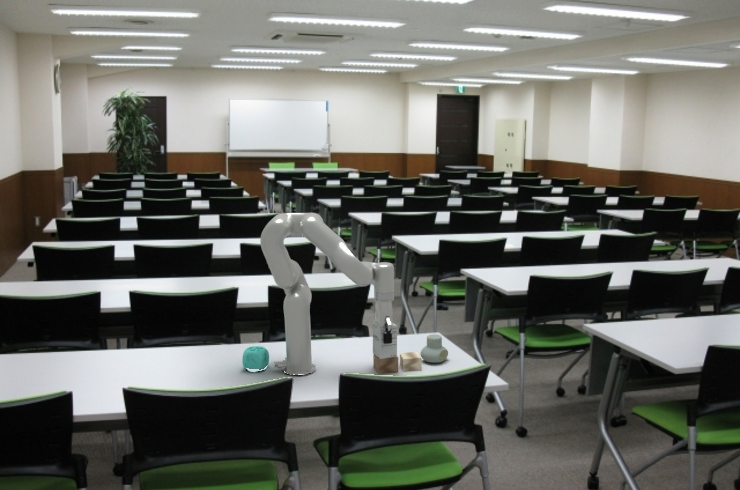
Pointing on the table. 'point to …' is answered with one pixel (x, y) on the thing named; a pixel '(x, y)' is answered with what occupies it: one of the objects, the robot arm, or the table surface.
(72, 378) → the table surface
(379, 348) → the supplement box
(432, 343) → the air freshener
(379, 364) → the walnut block
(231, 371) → the table surface
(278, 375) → the table surface
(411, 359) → the maple block
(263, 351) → the teal rounded cube
